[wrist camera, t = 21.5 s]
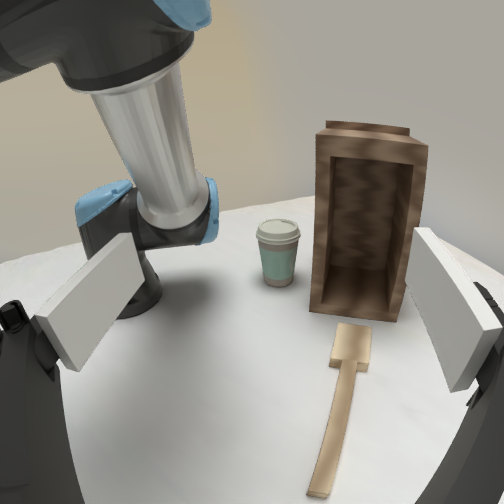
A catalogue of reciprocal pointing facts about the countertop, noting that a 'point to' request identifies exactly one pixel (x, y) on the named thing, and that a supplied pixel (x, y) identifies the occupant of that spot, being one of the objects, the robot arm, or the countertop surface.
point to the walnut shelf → (365, 218)
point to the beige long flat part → (340, 401)
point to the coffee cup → (278, 250)
